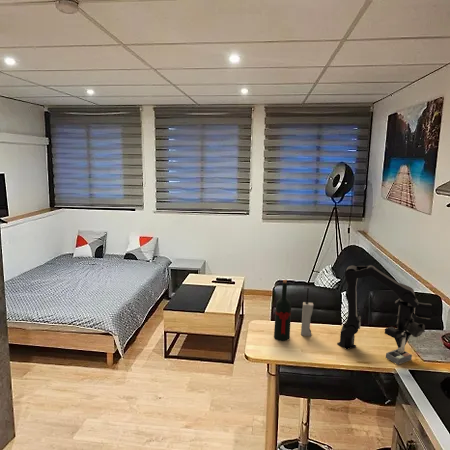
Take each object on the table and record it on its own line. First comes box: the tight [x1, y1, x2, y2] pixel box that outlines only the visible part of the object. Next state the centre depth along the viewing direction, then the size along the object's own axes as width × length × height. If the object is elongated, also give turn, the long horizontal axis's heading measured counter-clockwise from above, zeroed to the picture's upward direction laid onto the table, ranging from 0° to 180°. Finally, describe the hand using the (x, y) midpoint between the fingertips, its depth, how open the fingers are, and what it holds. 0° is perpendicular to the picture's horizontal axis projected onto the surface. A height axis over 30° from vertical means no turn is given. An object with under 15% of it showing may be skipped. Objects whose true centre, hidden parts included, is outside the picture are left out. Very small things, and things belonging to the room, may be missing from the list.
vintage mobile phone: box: [300, 287, 314, 337], centre depth 196 cm, size 4×5×25 cm
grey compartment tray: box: [385, 348, 413, 366], centre depth 176 cm, size 9×6×3 cm
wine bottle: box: [273, 279, 292, 342], centre depth 190 cm, size 8×10×30 cm
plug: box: [397, 333, 406, 353], centre depth 177 cm, size 3×3×9 cm
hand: (401, 346), depth 177 cm, fingers closed on plug, 3 cm apart
